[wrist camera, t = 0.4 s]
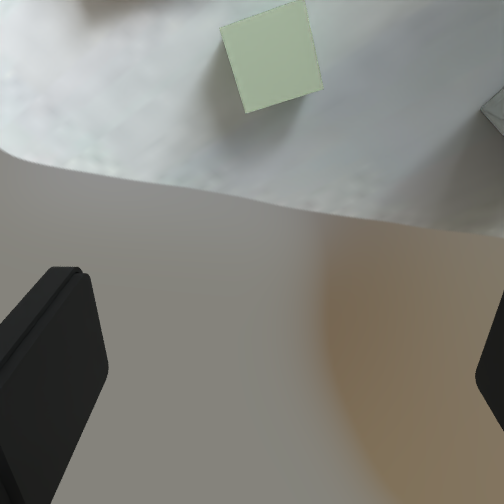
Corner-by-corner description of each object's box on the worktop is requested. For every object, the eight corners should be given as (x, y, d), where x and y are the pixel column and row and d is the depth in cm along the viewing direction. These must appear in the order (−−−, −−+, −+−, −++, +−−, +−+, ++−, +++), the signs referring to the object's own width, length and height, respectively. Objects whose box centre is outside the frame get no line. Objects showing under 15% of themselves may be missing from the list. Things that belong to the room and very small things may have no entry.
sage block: (297, 0, 28) (303, -3, 23) (314, 76, 31) (323, 89, 25) (228, 25, 29) (219, 28, 24) (249, 97, 32) (245, 113, 26)
